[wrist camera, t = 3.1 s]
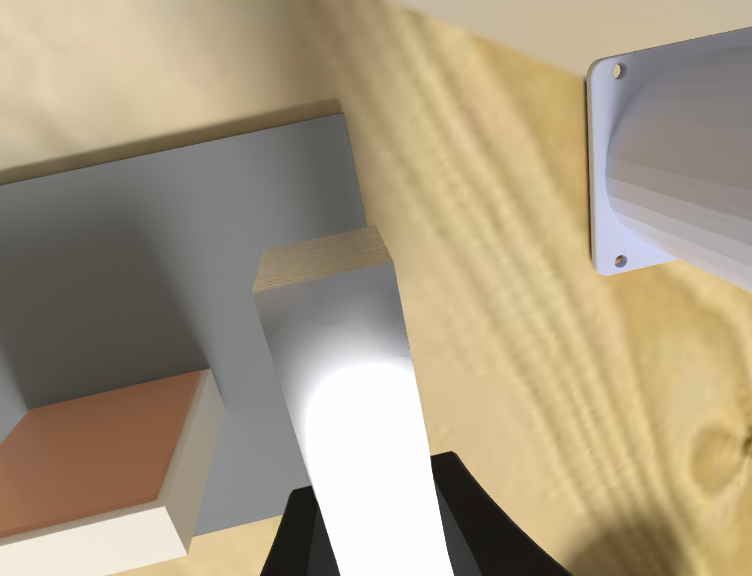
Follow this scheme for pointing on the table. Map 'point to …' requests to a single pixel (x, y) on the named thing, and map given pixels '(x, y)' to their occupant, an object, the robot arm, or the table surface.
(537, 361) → the table surface
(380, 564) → the bar
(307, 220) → the mat
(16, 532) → the tile
